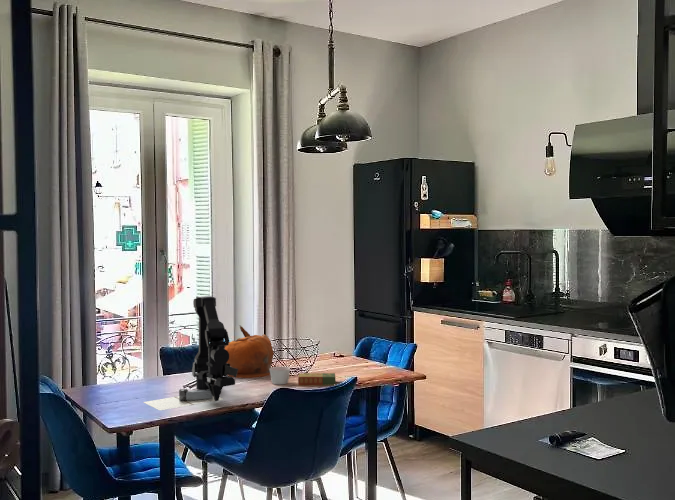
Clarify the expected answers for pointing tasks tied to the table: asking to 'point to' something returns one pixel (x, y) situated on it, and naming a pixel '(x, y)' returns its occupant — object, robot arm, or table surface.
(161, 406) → the board
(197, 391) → the bar
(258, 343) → the pumpkin
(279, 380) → the candle
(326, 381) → the carton
